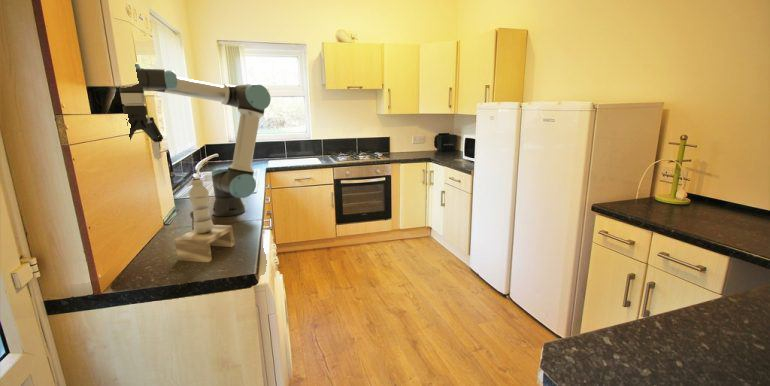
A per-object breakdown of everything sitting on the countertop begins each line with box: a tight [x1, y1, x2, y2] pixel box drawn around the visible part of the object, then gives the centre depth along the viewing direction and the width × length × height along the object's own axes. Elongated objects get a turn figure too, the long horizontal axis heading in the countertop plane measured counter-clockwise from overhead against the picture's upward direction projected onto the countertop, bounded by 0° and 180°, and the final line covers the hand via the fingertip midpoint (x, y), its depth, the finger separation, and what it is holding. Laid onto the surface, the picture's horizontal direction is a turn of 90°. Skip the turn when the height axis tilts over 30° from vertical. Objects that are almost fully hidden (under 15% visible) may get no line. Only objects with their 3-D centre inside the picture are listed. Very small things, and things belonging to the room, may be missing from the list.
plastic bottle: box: [188, 177, 214, 233], centre depth 130 cm, size 6×7×20 cm
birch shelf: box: [174, 224, 235, 263], centre depth 134 cm, size 16×12×8 cm
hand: (144, 160), depth 141 cm, fingers open, 13 cm apart
